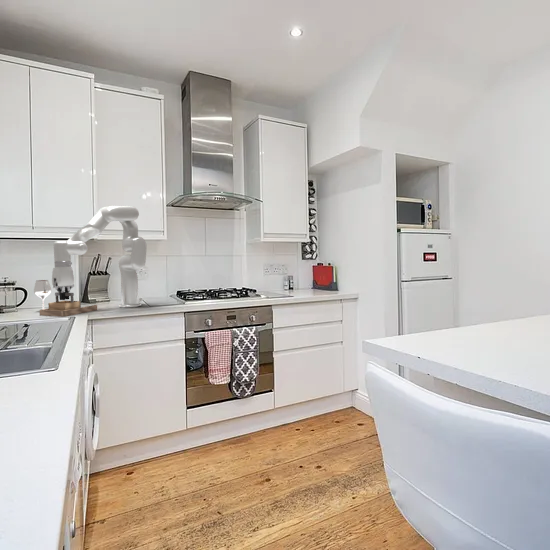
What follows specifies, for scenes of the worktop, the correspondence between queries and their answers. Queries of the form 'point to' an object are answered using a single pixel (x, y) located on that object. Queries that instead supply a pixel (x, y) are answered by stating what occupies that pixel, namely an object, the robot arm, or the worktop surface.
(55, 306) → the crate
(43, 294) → the wineglass
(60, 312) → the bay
